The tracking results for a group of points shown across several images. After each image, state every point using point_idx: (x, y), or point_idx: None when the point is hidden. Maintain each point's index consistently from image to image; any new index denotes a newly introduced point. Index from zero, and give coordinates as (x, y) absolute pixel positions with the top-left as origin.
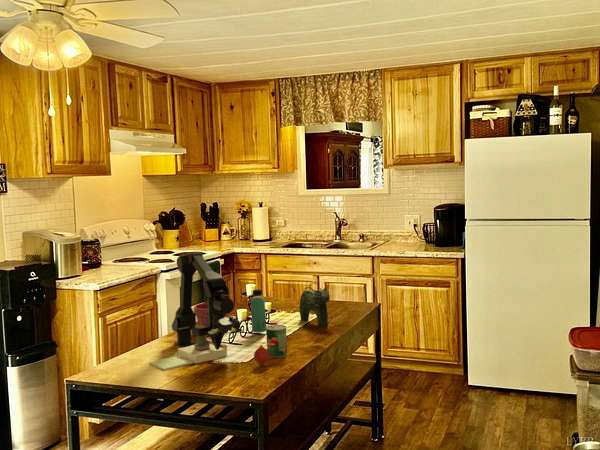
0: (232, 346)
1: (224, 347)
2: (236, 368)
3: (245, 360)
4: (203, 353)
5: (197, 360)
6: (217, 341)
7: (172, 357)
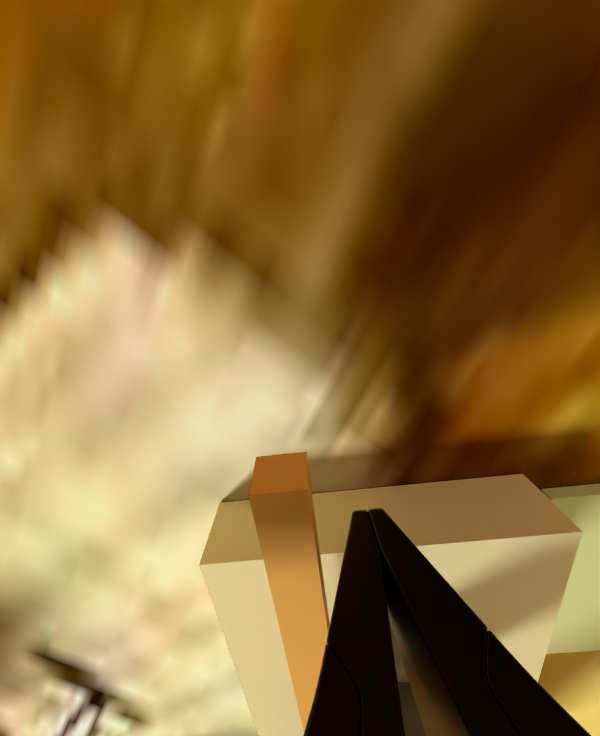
0: (108, 646)
1: (305, 469)
2: (322, 3)
3: (108, 278)
4: (474, 551)
5: (521, 492)
6: (446, 643)
7: (562, 644)
